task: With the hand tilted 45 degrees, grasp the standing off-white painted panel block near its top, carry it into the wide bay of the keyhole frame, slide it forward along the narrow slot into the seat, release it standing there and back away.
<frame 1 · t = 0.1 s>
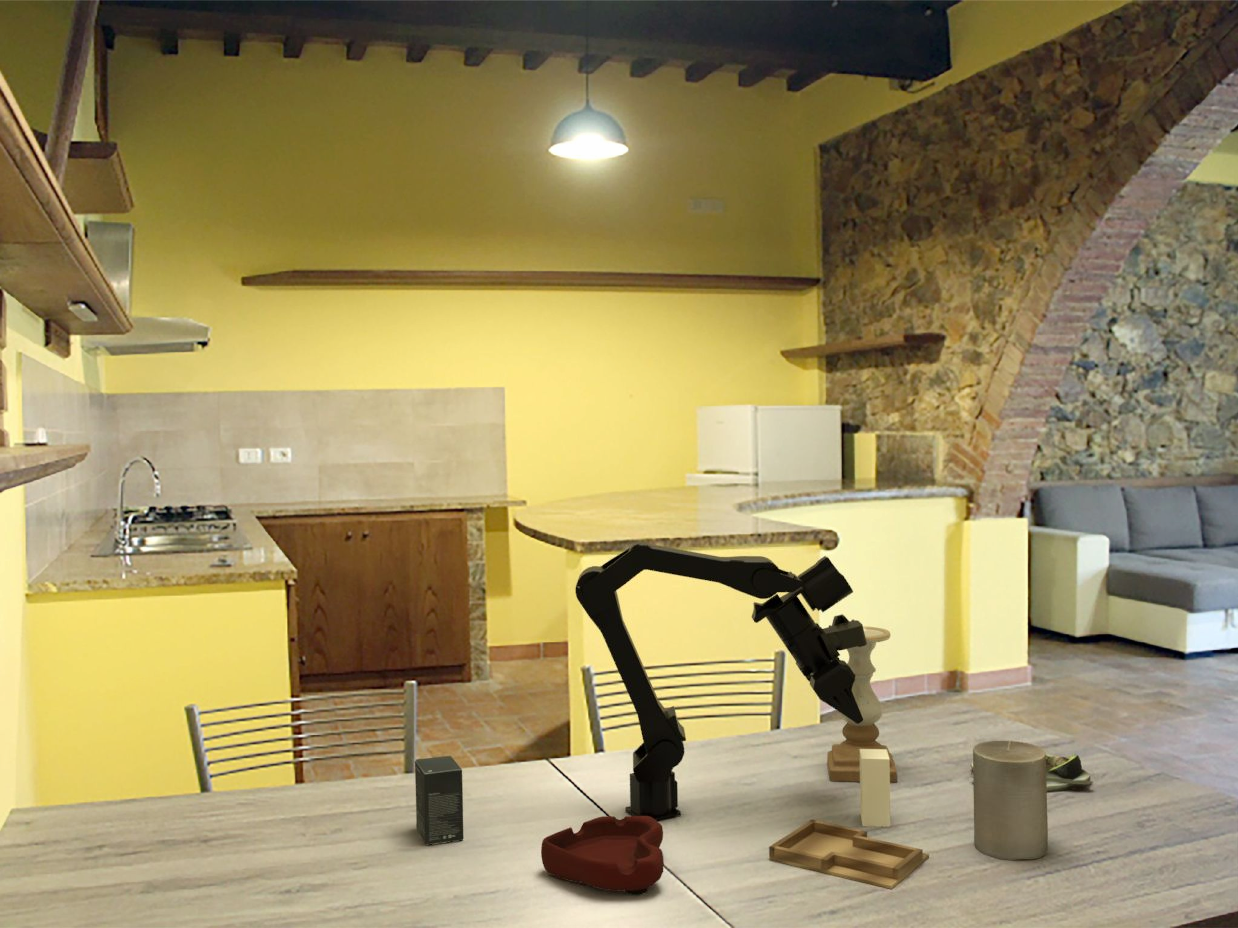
hand: (854, 713, 174), 15 cm above the table, tool tilted 35°, fingers open, 9 cm apart
ashtray: (602, 875, 153), on the table
candle holder: (861, 773, 194), on the table
salad plate: (1033, 780, 189), on the table
keyhole frame: (873, 863, 154), on the table
box: (439, 835, 169), on the table
pillar candle: (1010, 849, 159), on the table
panel block: (875, 820, 170), on the table
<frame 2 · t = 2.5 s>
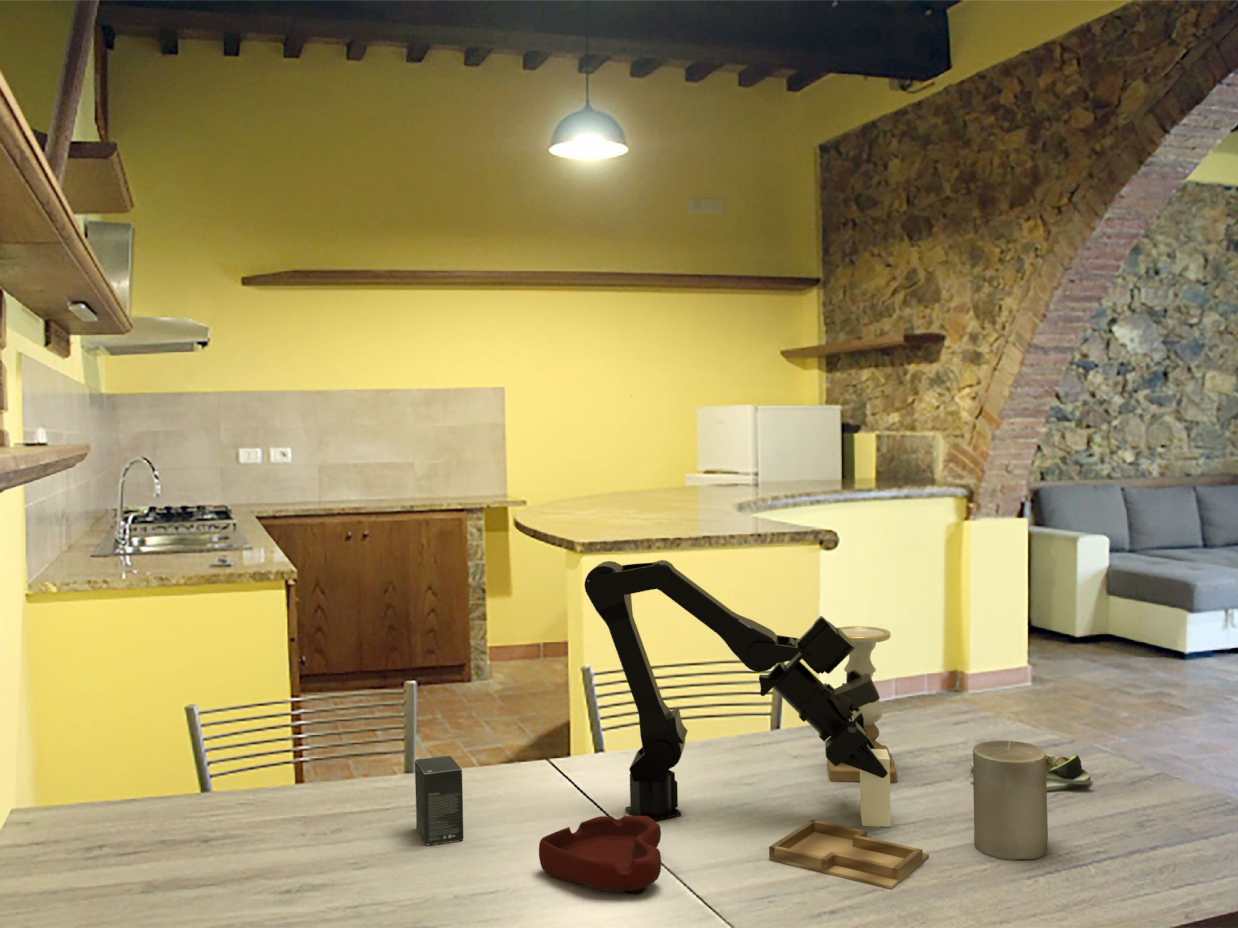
hand: (884, 769, 170), 8 cm above the table, tool tilted 45°, fingers closed on panel block, 5 cm apart
panel block: (875, 820, 170), on the table, touching gripper
everything else where it was.
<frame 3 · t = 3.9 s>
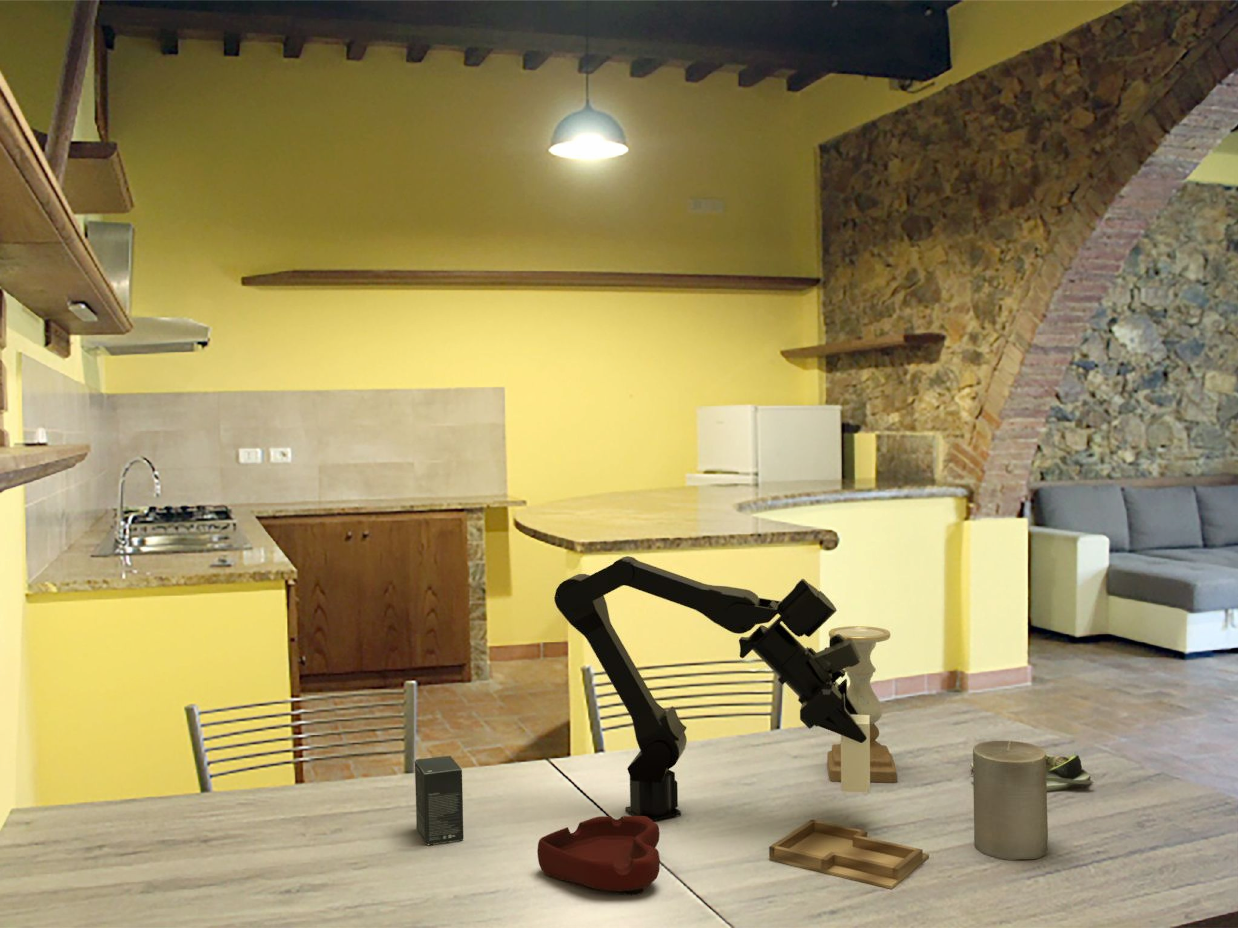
hand: (864, 735, 167), 13 cm above the table, tool tilted 45°, fingers closed on panel block, 5 cm apart
panel block: (855, 786, 168), point 6 cm above the table, touching gripper
everything else where it was.
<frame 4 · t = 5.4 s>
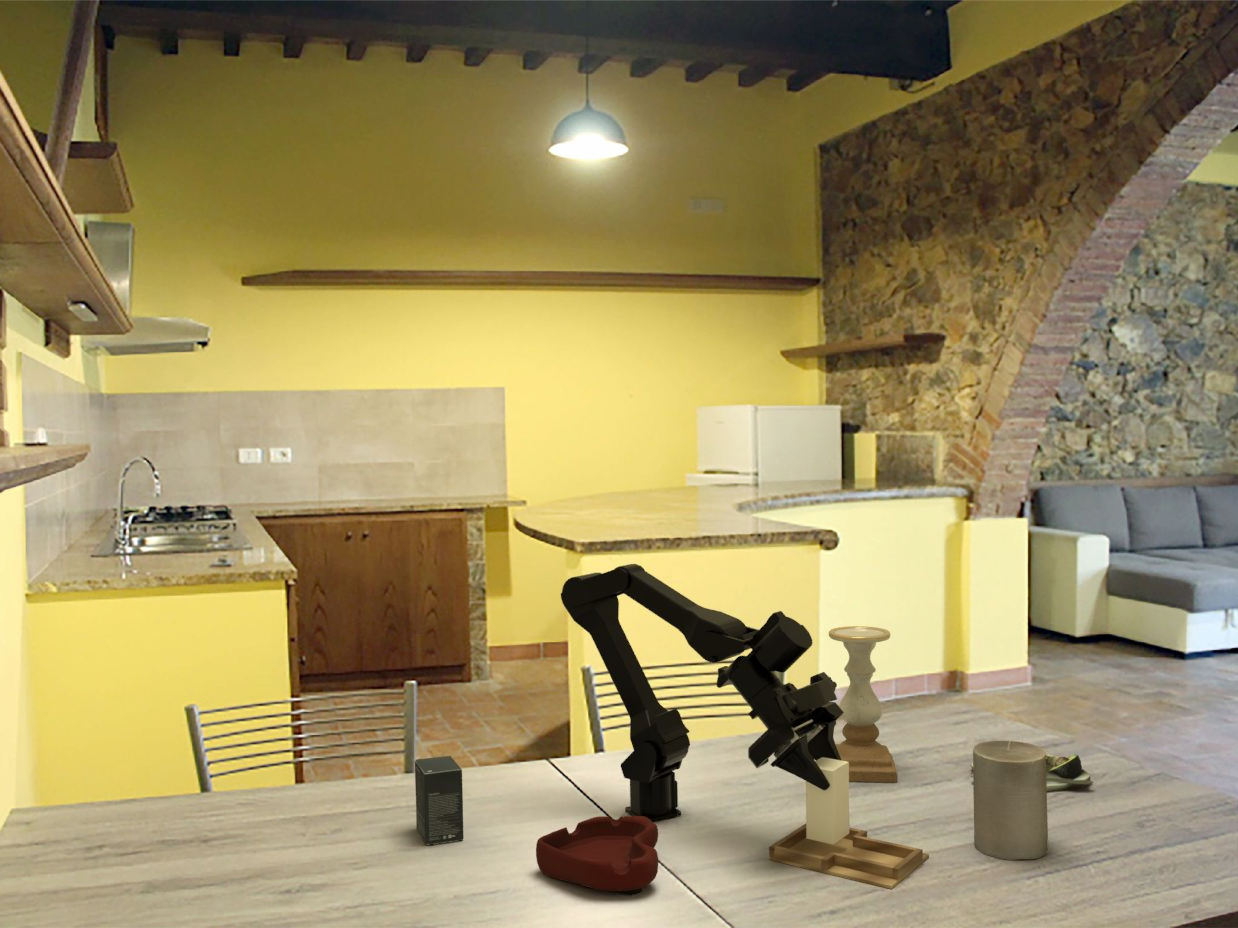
hand: (836, 782, 157), 10 cm above the table, tool tilted 45°, fingers closed on panel block, 5 cm apart
panel block: (828, 835, 158), point 2 cm above the table, touching gripper
everything else where it was.
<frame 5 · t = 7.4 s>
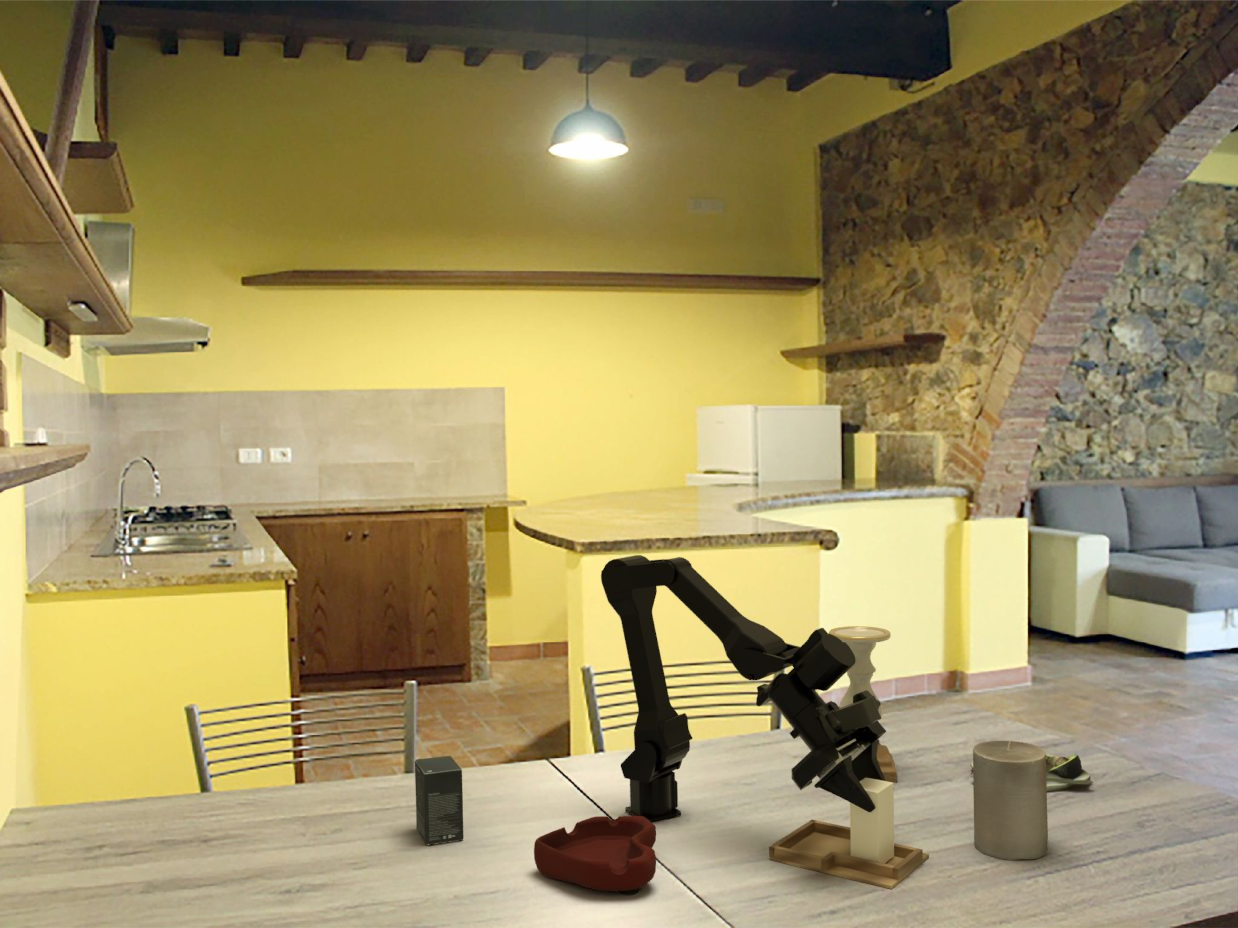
hand: (881, 804, 153), 8 cm above the table, tool tilted 45°, fingers closed on panel block, 5 cm apart
panel block: (872, 858, 154), point 1 cm above the table, touching gripper
everything else where it was.
when the fingers open (8 cm above the table, at t = 8.4 s): panel block stays where it is, resting on keyhole frame.
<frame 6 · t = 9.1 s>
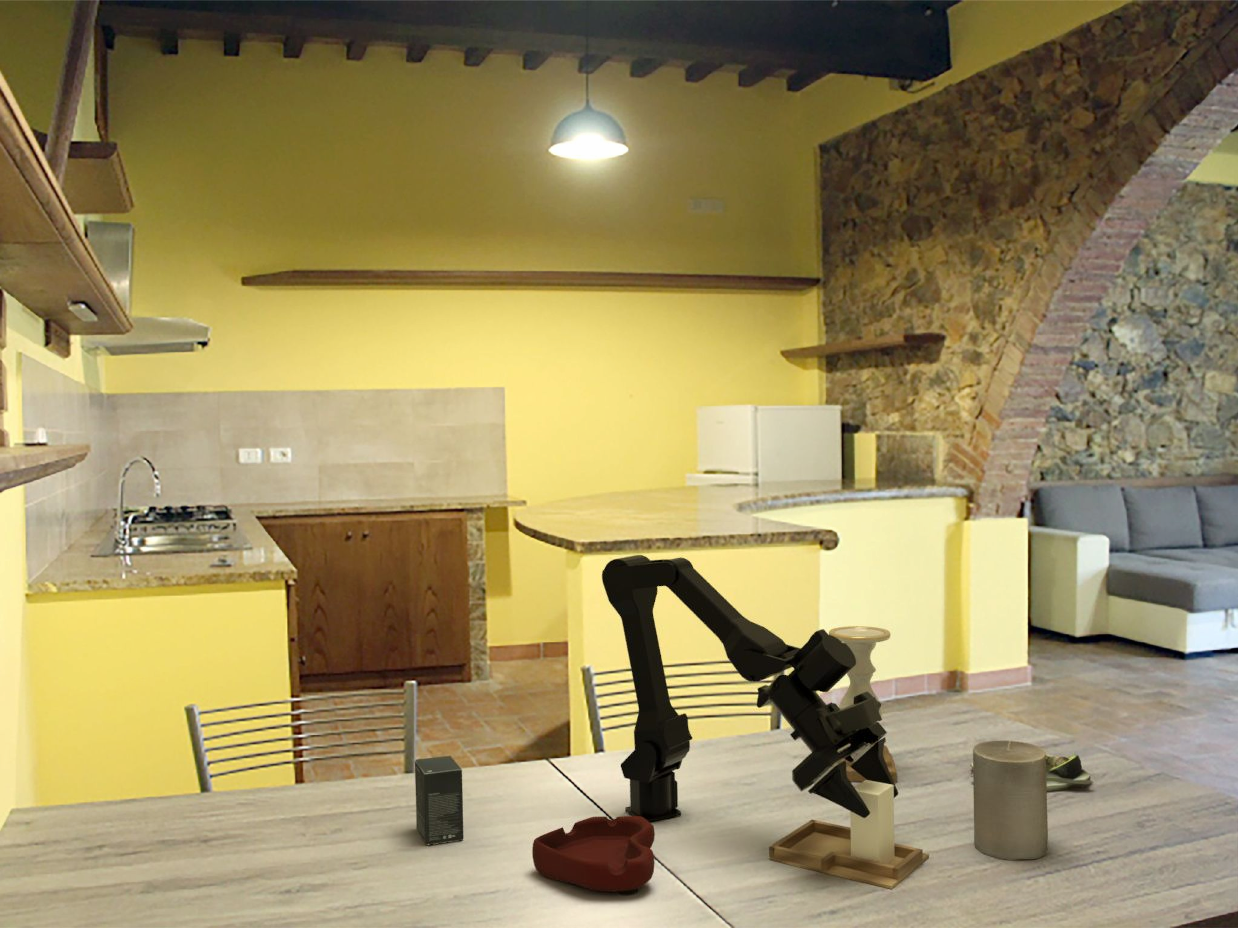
hand: (882, 805, 153), 8 cm above the table, tool tilted 45°, fingers open, 9 cm apart
panel block: (872, 860, 154), resting on keyhole frame
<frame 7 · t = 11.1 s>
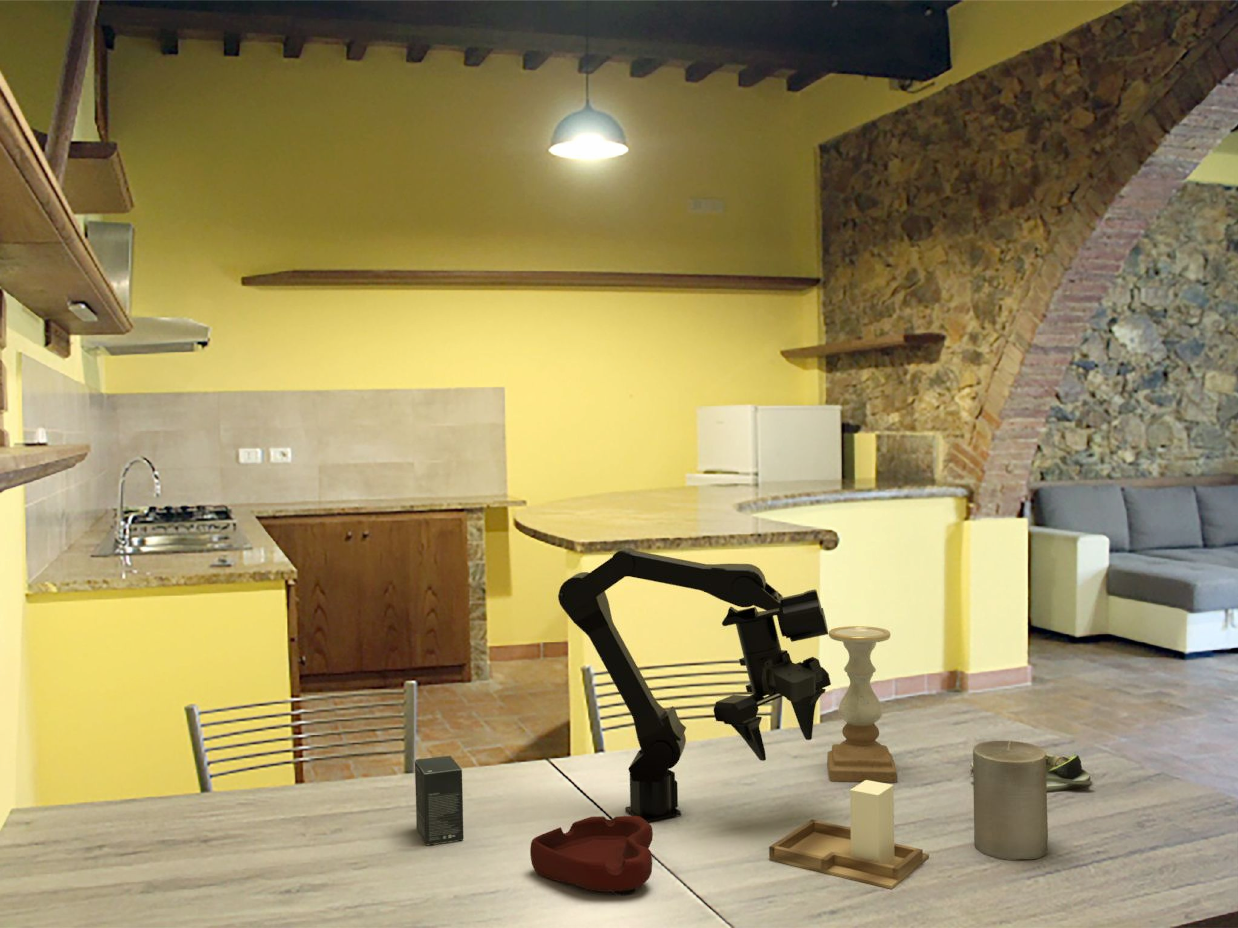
hand: (786, 749, 171), 11 cm above the table, tool pointing down, fingers open, 9 cm apart
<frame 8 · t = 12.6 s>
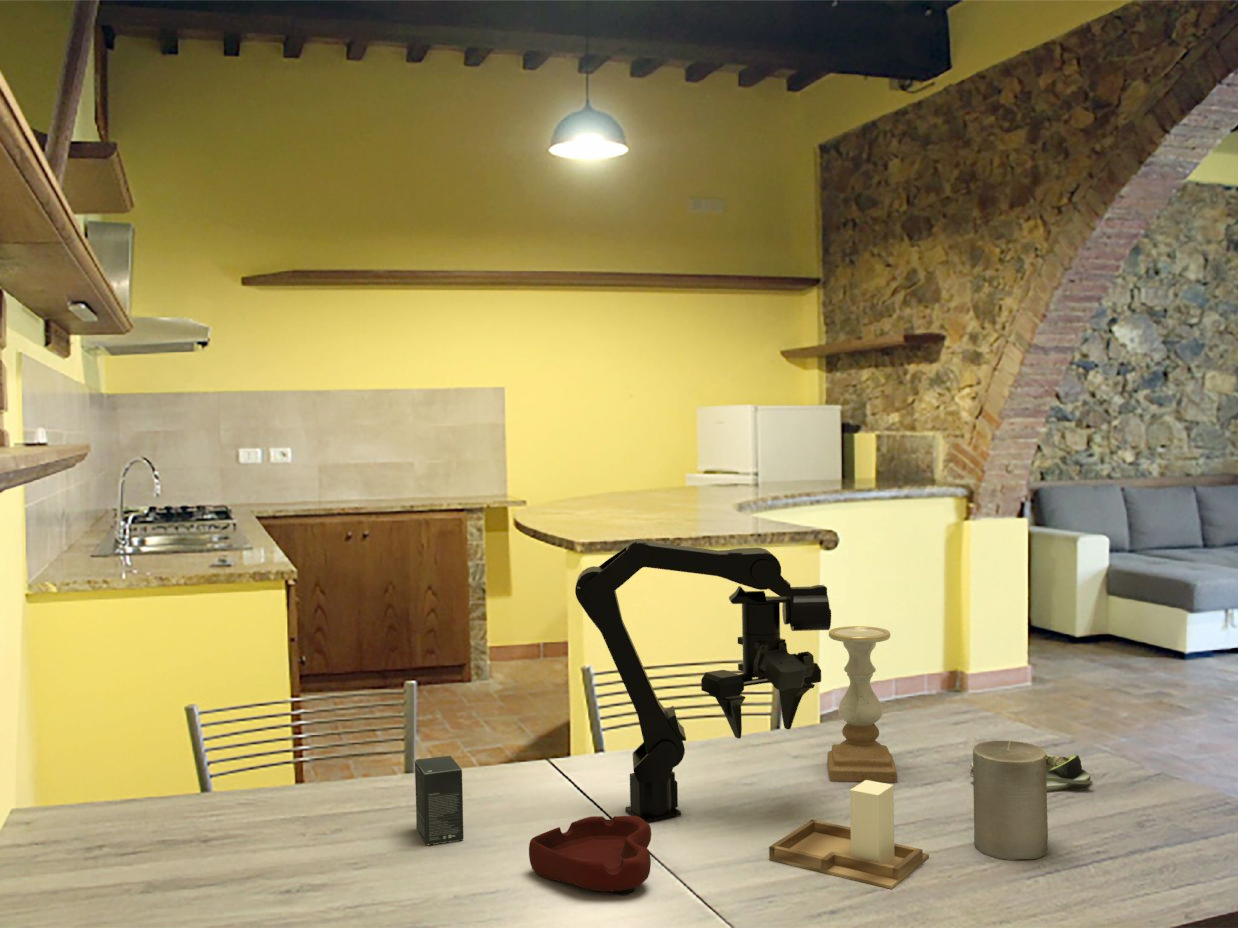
hand: (763, 733, 175), 12 cm above the table, tool pointing down, fingers open, 9 cm apart
at the end: panel block 0.0 cm from the keyhole frame (horizontally); panel block tilted 0°; the gripper is holding nothing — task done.
